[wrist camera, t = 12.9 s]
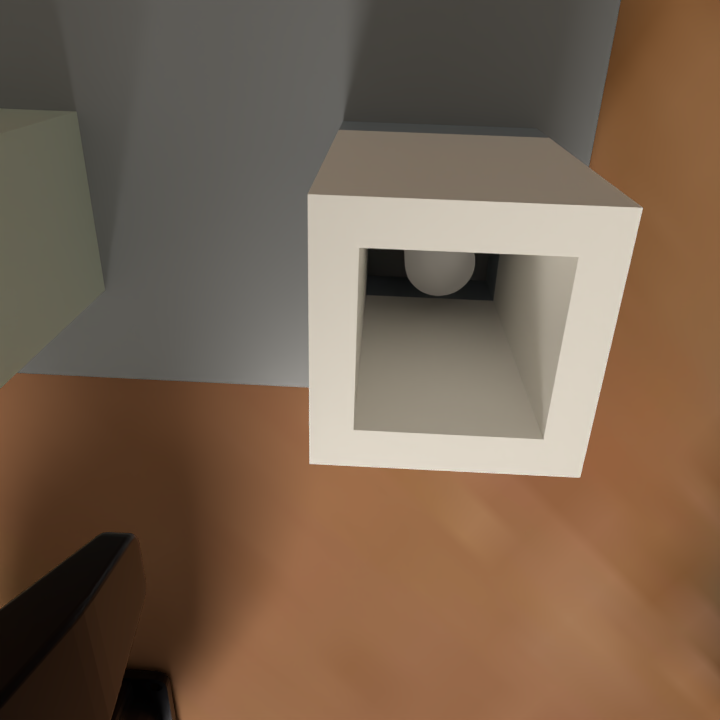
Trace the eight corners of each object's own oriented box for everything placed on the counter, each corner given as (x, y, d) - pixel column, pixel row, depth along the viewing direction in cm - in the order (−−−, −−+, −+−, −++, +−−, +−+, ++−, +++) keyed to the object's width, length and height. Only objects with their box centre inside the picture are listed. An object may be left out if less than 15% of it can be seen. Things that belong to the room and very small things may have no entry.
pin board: (537, 383, 21) (624, 600, 13) (-62, 354, 22) (-324, 545, 14) (608, 0, 16) (817, -19, 8) (-177, -28, 17) (-697, -72, 9)
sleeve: (510, 307, 19) (580, 477, 12) (340, 300, 19) (309, 463, 12) (537, 128, 17) (642, 207, 10) (343, 121, 17) (307, 194, 10)
